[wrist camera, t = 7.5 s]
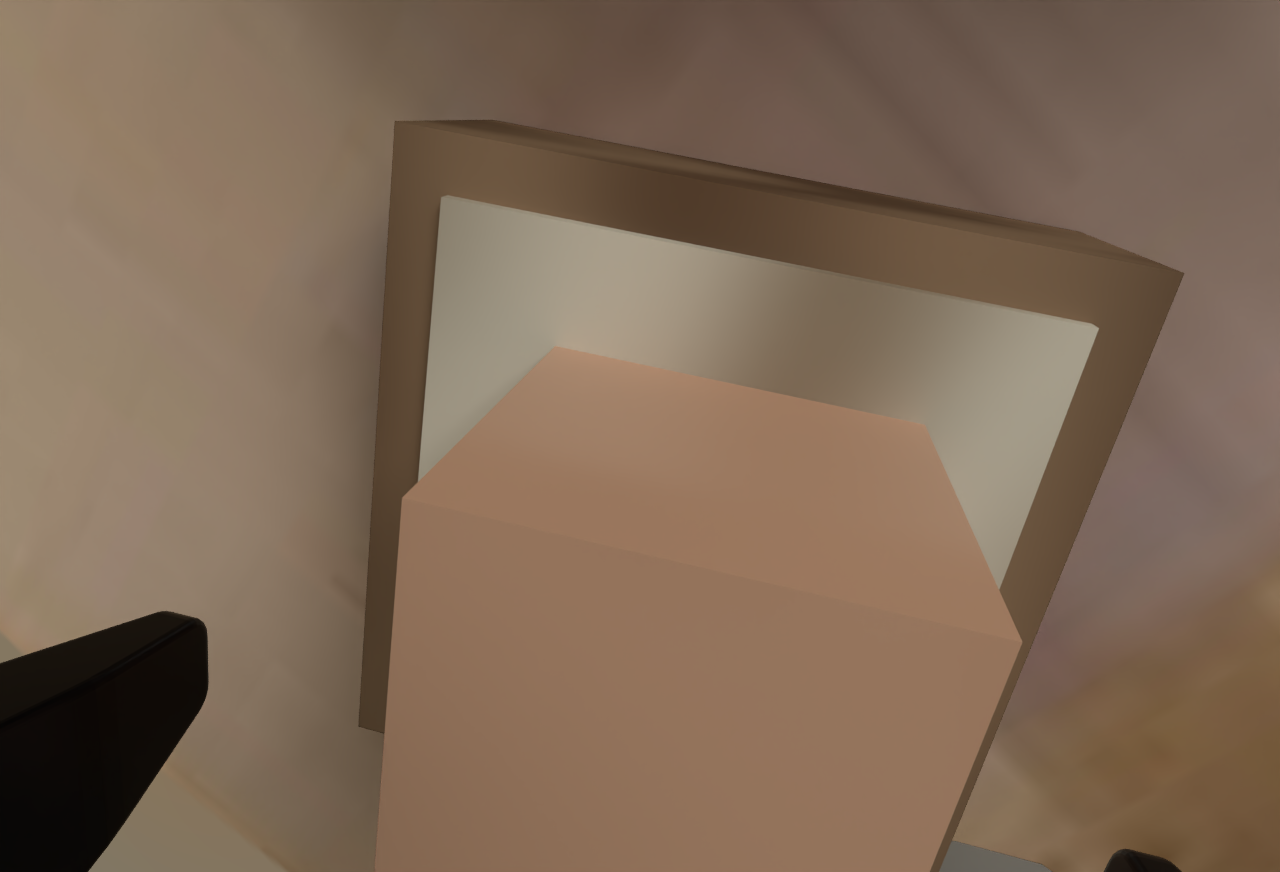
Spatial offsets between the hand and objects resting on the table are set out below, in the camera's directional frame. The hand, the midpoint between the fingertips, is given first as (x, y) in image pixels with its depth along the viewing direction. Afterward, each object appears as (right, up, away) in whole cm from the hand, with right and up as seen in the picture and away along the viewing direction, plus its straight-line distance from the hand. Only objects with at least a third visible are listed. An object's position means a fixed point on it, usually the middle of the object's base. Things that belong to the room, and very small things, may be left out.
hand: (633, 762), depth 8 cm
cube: (+1, +2, +4) cm, 4 cm away
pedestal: (+1, +3, +8) cm, 9 cm away
